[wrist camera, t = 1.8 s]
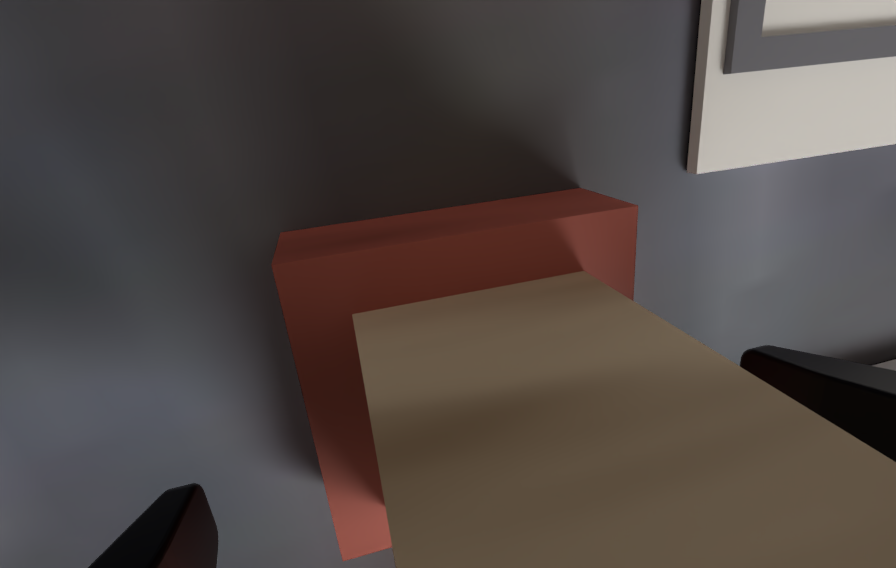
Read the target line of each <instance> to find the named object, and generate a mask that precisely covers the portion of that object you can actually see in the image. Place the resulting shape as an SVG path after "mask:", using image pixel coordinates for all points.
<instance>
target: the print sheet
mask: <svg viewBox="0 0 896 568" xmlns="http://www.w3.org/2000/svg"><path fill="white" fill-rule="evenodd" d="M892 144H896V0H701V10H700V22H699V34H698V46H697V57H696V69H695V81H694V92H693V104H692V116H691V128H690V139H689V151H688V163H687V172H688V173H693V174H700V173H707V172H714V171H720V170H727V169H733V168H740V167H747V166H753V165H760V164H766V163H773V162H780V161H786V160H793V159H799V158H806V157H812V156H819V155H826V154H832V153H839V152H845V151H852V150H859V149H865V148H872V147H878V146H885V145H892Z"/></svg>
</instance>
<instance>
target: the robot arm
mask: <svg viewBox="0 0 896 568" xmlns="http://www.w3.org/2000/svg"><path fill="white" fill-rule="evenodd" d="M740 367H741V368H743V369H745V370H746V371H748V372H750V373H751V374H753V375H754V376H756V377H758V378H759V379H761V380H763V381H764V382H766V383H767V384H769V385H771V386H772V387H774V388H776V389H777V390H779V391H781V392H782V393H784V394H785V395H787V396H789V397H790V398H792V399H794V400H795V401H797V402H798V403H800V404H802V405H803V406H805V407H807V408H808V409H810V410H811V411H813V412H815V413H816V414H818V415H820V416H821V417H823V418H825V419H826V420H828V421H829V422H831V423H833V424H834V425H836V426H838V427H839V428H841V429H842V430H844V431H846V432H847V433H849V434H851V435H852V436H854V437H855V438H857V439H859V440H860V441H862V442H864V443H865V444H867V445H868V446H870V447H872V448H873V449H875V450H877V451H878V452H880V453H882V454H883V455H885V456H886V457H888V458H890V459H891V460H893V461H895V462H896V371H895V370H890V369H885V368H880V367H875V366H870V365H865V364H860V363H855V362H850V361H845V360H840V359H835V358H830V357H825V356H820V355H815V354H810V353H805V352H800V351H795V350H790V349H785V348H780V347H775V346H770V345H766V346H760V347H756V348H752V349H748V350H746V351H745V352H744V353H743V355H742V357H741V362H740ZM217 552H218V531H217V526H216V523H215V520H214V517H213V514H212V512H211V509H210V506H209V503H208V501H207V498H206V495H205V492H204V490H203V488H202V487H201V486H200V485H199V484H196V483H192V484H188V485H184V486H180V487H176V488H172V489H169V490H167V491H165V492H164V493H163V494H162V495H161V496H160V497H159V498H158V499H157V500H156V501H155V502H154V503H153V504H152V505H151V506H150V507H149V508H148V509H147V510H146V511H145V512H144V513H143V514H142V515H141V516H139V517H138V518H137V519H136V520H135V521H134V522H133V523H132V524H131V525H130V526H129V527H128V528H127V529H126V530H125V531H124V532H123V533H122V534H121V535H120V536H119V537H118V538H117V539H116V540H115V541H114V542H113V543H112V544H111V545H110V546H109V547H108V548H107V549H106V550H105V551H104V552H103V553H102V554H101V555H100V556H99V557H98V558H97V559H96V560H95V561H94V562H93V563H92V564H91V565H90V566H89V567H88V568H216V564H217Z"/></svg>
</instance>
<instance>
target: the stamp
mask: <svg viewBox="0 0 896 568" xmlns="http://www.w3.org/2000/svg"><path fill="white" fill-rule="evenodd" d="M637 218H638V205H634V204H631V203H628V202H625V201H621V200H618V199H615V198H612V197H608V196H605V195H602V194H599V193H595V192H592V191H589V190H586V189H582V188H576V189H569V190H562V191H556V192H549V193H542V194H536V195H529V196H522V197H515V198H509V199H502V200H495V201H489V202H482V203H475V204H469V205H462V206H455V207H448V208H442V209H435V210H428V211H422V212H415V213H408V214H401V215H395V216H388V217H381V218H375V219H368V220H361V221H355V222H348V223H341V224H334V225H328V226H321V227H314V228H308V229H301V230H294V231H287V232H281V233H280V236H279V240H278V243H277V247H276V250H275V254H274V257H273V261H272V264H271V266H272V270H273V274H274V278H275V282H276V286H277V291H278V295H279V299H280V303H281V307H282V311H283V315H284V320H285V324H286V328H287V332H288V336H289V340H290V344H291V349H292V353H293V357H294V361H295V365H296V369H297V373H298V378H299V382H300V386H301V390H302V394H303V398H304V402H305V407H306V411H307V415H308V419H309V423H310V427H311V431H312V436H313V440H314V444H315V448H316V452H317V456H318V460H319V465H320V469H321V473H322V477H323V481H324V485H325V489H326V494H327V498H328V502H329V506H330V510H331V514H332V518H333V523H334V527H335V531H336V535H337V539H338V543H339V547H340V552H341V556H342V560H343V561H346V560H349V559H353V558H356V557H360V556H363V555H367V554H370V553H374V552H377V551H381V550H384V549H388V548H391V547H392V548H393V554H394V560H395V565H396V568H896V462H895V461H893V460H891V459H890V458H888V457H886V456H885V455H883V454H882V453H880V452H878V451H877V450H875V449H873V448H872V447H870V446H868V445H867V444H865V443H864V442H862V441H860V440H859V439H857V438H855V437H854V436H852V435H851V434H849V433H847V432H846V431H844V430H842V429H841V428H839V427H838V426H836V425H834V424H833V423H831V422H829V421H828V420H826V419H825V418H823V417H821V416H820V415H818V414H816V413H815V412H813V411H811V410H810V409H808V408H807V407H805V406H803V405H802V404H800V403H798V402H797V401H795V400H794V399H792V398H790V397H789V396H787V395H785V394H784V393H782V392H781V391H779V390H777V389H776V388H774V387H772V386H771V385H769V384H767V383H766V382H764V381H763V380H761V379H759V378H758V377H756V376H754V375H753V374H751V373H750V372H748V371H746V370H745V369H743V368H741V367H740V366H738V365H737V364H735V363H733V362H732V361H730V360H728V359H727V358H725V357H723V356H722V355H720V354H719V353H717V352H715V351H714V350H712V349H710V348H709V347H707V346H706V345H704V344H702V343H701V342H699V341H697V340H696V339H694V338H693V337H691V336H689V335H688V334H686V333H684V332H683V331H681V330H680V329H678V328H676V327H675V326H673V325H671V324H670V323H668V322H666V321H665V320H663V319H662V318H660V317H658V316H657V315H655V314H653V313H652V312H650V311H649V310H647V309H645V308H644V307H642V306H640V305H639V304H637V303H636V302H634V301H633V295H634V276H635V256H636V237H637Z"/></svg>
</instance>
